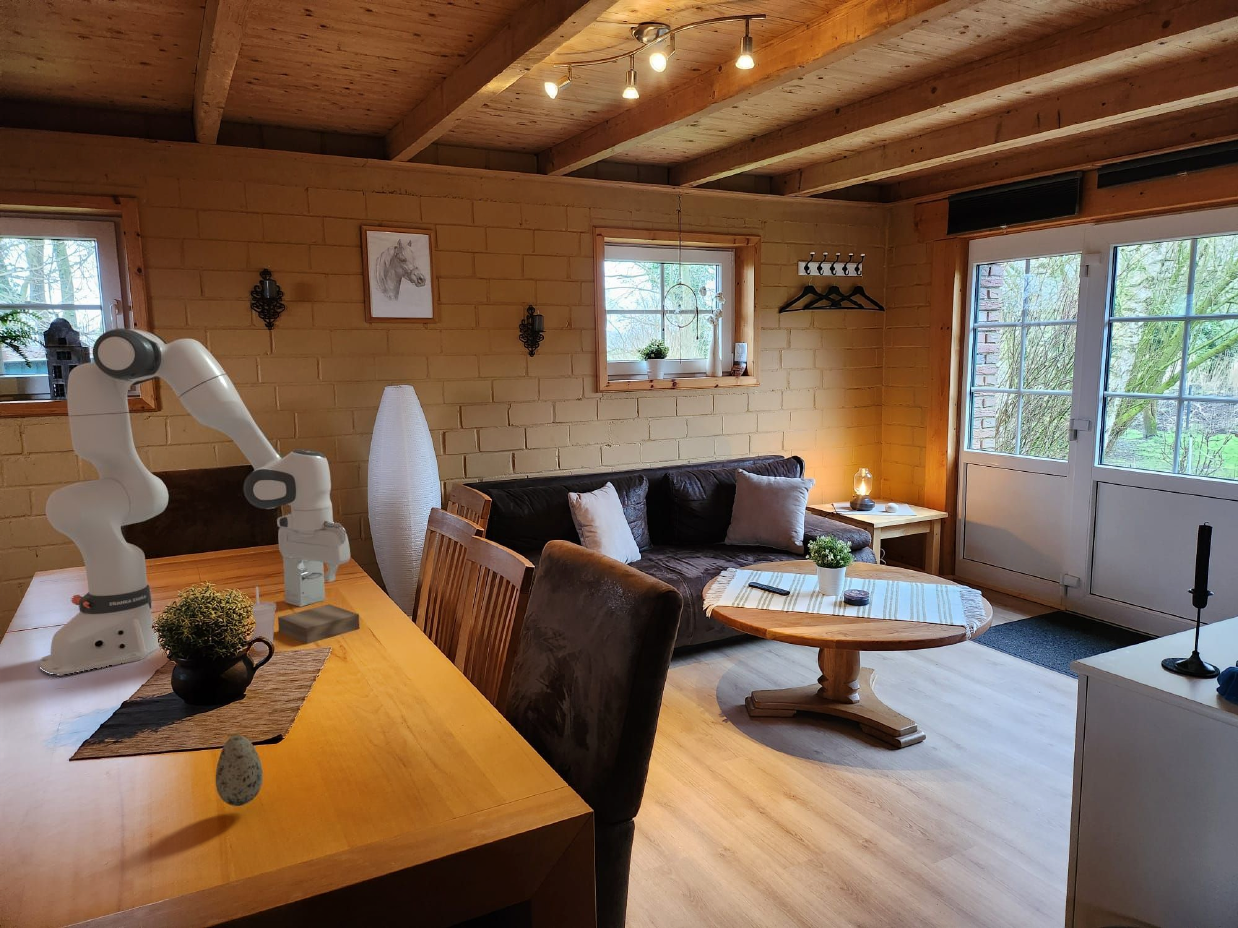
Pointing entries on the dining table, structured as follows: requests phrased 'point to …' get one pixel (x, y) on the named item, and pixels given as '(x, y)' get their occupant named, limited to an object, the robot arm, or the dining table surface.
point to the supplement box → (303, 583)
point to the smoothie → (263, 621)
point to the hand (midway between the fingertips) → (316, 578)
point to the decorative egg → (238, 772)
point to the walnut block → (318, 623)
